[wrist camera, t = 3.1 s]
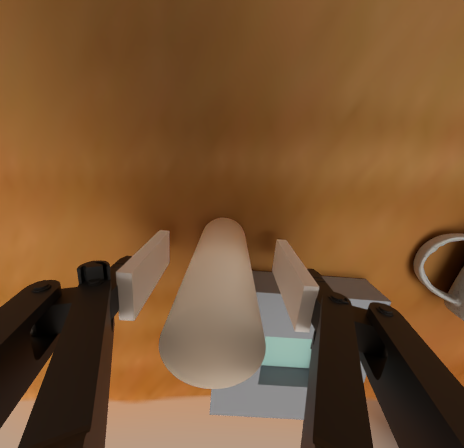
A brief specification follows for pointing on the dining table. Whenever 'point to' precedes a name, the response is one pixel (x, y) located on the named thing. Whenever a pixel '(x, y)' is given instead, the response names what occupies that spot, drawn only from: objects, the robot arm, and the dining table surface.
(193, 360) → the dowel pin
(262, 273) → the bore block
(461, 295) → the ceramic mug
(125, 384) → the dining table surface
